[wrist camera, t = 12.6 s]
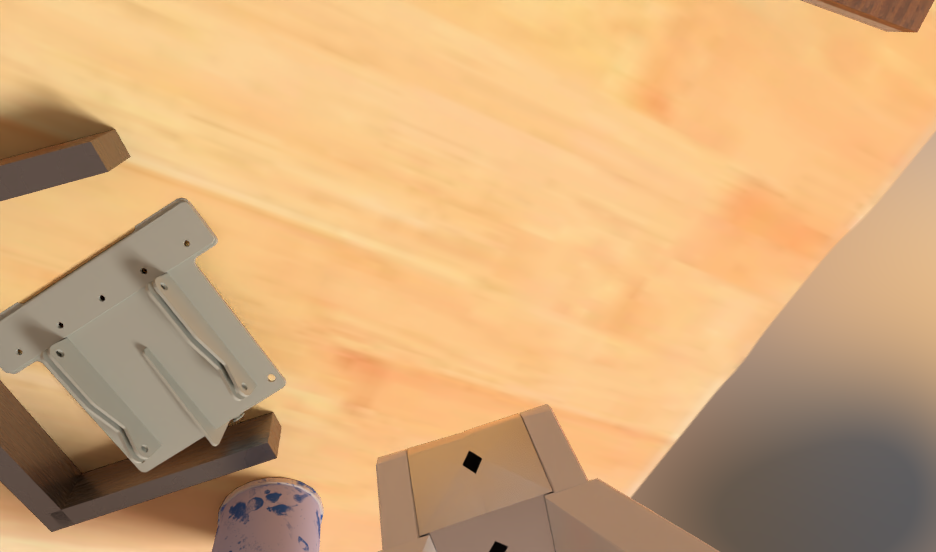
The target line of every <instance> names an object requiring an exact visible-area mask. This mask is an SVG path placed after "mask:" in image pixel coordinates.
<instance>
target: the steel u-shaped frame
mask: <svg viewBox="0 0 936 552" xmlns="http://www.w3.org/2000/svg"><path fill="white" fill-rule="evenodd" d="M129 157H130V155H129V153H128V152H127V150H126V148H125V146H124V144H123V143H122V141H121V139H120V137H119V135H118V134H117V132H116V130H115V129H114V130H110V131H106V132H103V133H99V134H95V135H91V136H88V137H84V138H80V139H76V140H73V141H69V142H65V143H61V144H58V145H54V146H50V147H47V148H43V149H39V150H35V151H32V152H28V153H24V154H20V155H17V156H13V157H9V158H5V159H2V160H0V201H3V200H7V199H10V198H14V197H18V196H21V195H25V194H29V193H32V192H36V191H40V190H43V189H47V188H50V187H54V186H58V185H61V184H65V183H69V182H72V181H76V180H80V179H83V178H87V177H91V176H94V175H98V174H102V173H105V172H108V171H110V170H111V169H113V168H114V167H116V166H117V165H119V164H120V163H122V162H123V161H125V160H126V159H128V158H129ZM280 433H281V425H280V424H279V422H278V420H277V418H276V417H275V415H274V413H273V412H272V413H269V414H266V415H263V416H260V417H257V418H254V419H250V420H247V421H244V422H241V423H238V424H235V425H232V426H229V427H227V428H226V430H225V432H224V434H223V437H222V439H221V441H220V443H219V444H218V445H217V446H213V445H212V444H211V443H210V442H209V440H208V439H207V438H206V437H205V436H204V437H203V438H201V439H199V440H198V441H196V442H195V443H193V444H191V445H190V446H188V447H186V448H185V449H183V450H182V451H180V452H178V453H177V454H175V455H174V456H172V457H170V458H169V459H167V460H166V461H164V462H162V463H161V464H159V465H157V466H156V467H154V468H153V469H151V470H149V471H148V472H141V471H140V470H139V469H138V468H137V467H136V466H135V465H134V464H133V463H132V462H131V460H130V459H126V460H123V461H120V462H117V463H113V464H110V465H107V466H104V467H101V468H98V469H95V470H92V471H89V472H85V473H81V472H80V471H79V470H78V469H77V468H76V466H75V465H74V464H73V463H72V462H71V461H70V460H69V458H68V457H67V456H66V455H65V454H64V453H63V452H62V450H61V449H60V448H59V447H58V446H57V445H56V444H55V442H54V441H53V440H52V439H51V438H50V437H49V436H48V435H47V433H46V432H45V431H44V430H43V429H42V428H41V427H40V425H39V424H38V423H37V422H36V421H35V420H34V419H33V417H32V416H31V415H30V414H29V413H28V412H27V411H26V409H25V408H24V407H23V406H22V405H21V404H20V403H19V401H18V400H17V399H16V398H15V397H14V396H13V395H12V393H11V392H10V391H9V390H8V389H7V388H6V387H5V386H4V384H3V383H2V382H1V381H0V481H1V482H2V483H3V484H4V485H5V486H6V487H7V488H8V489H9V490H10V491H11V492H12V493H13V494H14V495H15V496H16V497H17V498H18V499H19V500H20V501H21V502H22V503H23V504H24V505H25V506H26V507H27V508H28V509H29V510H30V511H31V512H32V513H33V514H34V515H35V516H36V517H37V518H38V519H39V520H40V521H41V522H42V523H43V524H44V525H45V526H46V527H47V528H48V529H49V530H50V531H51V532H53V531H56V530H59V529H62V528H65V527H68V526H72V525H75V524H78V523H81V522H84V521H87V520H90V519H93V518H96V517H99V516H102V515H105V514H108V513H111V512H114V511H117V510H120V509H123V508H126V507H129V506H132V505H135V504H138V503H141V502H145V501H148V500H151V499H154V498H157V497H160V496H163V495H166V494H169V493H172V492H175V491H178V490H181V489H184V488H187V487H190V486H193V485H196V484H199V483H202V482H205V481H208V480H211V479H214V478H217V477H221V476H224V475H227V474H230V473H233V472H236V471H239V470H242V469H245V468H248V467H251V466H254V465H257V464H260V463H263V462H266V461H269V460H272V459H275V458H277V453H278V447H279V440H280ZM144 461H145V460H144Z"/></svg>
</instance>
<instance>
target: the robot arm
mask: <svg viewBox="0 0 936 552" xmlns="http://www.w3.org/2000/svg"><path fill="white" fill-rule="evenodd" d="M376 471H377V484H378V497H379V510H380V523H381V536H382V549H383V550H381V551H378V552H720V551H718V550H716V549H714V548H713V547H711V546H710V545H708V544H706V543H704V542H703V541H701V540H700V539H698V538H696V537H694V536H693V535H691V534H690V533H688V532H686V531H685V530H683V529H681V528H680V527H678V526H676V525H674V524H673V523H671V522H670V521H668V520H666V519H665V518H663V517H661V516H660V515H658V514H656V513H655V512H653V511H651V510H650V509H648V508H646V507H644V506H643V505H641V504H640V503H638V502H636V501H635V500H633V499H631V498H630V497H628V496H626V495H625V494H623V493H621V492H620V491H618V490H616V489H615V488H613V487H611V486H610V485H608V484H606V483H605V482H603V481H601V480H600V479H598V478H597V479H593V480H590V481H588V479H587V477H586V475H585V473H584V471H583V469H582V467H581V465H580V463H579V461H578V459H577V457H576V455H575V453H574V451H573V449H572V448H571V446H570V444H569V442H568V440H567V438H566V436H565V434H564V432H563V430H562V428H561V426H560V424H559V422H558V420H557V418H556V416H555V414H554V412H553V410H552V408H551V407H550V406H548V405H547V404H545V405H542V406H539V407H536V408H533V409H530V410H527V411H524V412H521V413H520V414H518V413H517V414H514V415H511V416H508V417H505V418H502V419H499V420H496V421H493V422H490V423H487V424H484V425H481V426H478V427H475V428H472V429H469V430H466V431H464V432H462V433H459V434H455V435H452V436H448V437H445V438H442V439H438V440H435V441H431V442H428V443H424V444H421V445H418V446H414V447H411V448H407V449H406V450H402V451H399V452H395V453H392V454H389V455H385V456H382V457H379V458H378V460H377V465H376Z"/></svg>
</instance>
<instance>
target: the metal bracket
mask: <svg viewBox="0 0 936 552" xmlns="http://www.w3.org/2000/svg"><path fill="white" fill-rule="evenodd" d="M185 240H187V241H189V243H190V245H189V246H186V245H185V244H184V242H185ZM217 242H218V239H217V237H216V236H215V234H214V233H213V232H212V230H211V229H210V228H209V226H208V225H207V224H206V222H205V221H204V220H203V218H202V217H201V216H200V214H199V213H198V212H197V210H196V209H195V208H194V206H193V205H192V204H191V203H190V202H189V201H188V200H187V199H184V198H179V199H176V200H175V201H173V202H172V203H170V204H169V205H167V206H165V207H164V208H162V209H161V210H159V211H158V212H156V213H155V214H153V215H152V216H150V217H148V218H147V219H145V220H144V221H142V222H141V223H139V224H138V225H136V226H135V230H134V232H133V233H131V234H130V235H128V236H127V237H125V238H124V239H122V240H120V241H119V242H117V243H116V244H114V245H113V246H111V247H110V248H108V249H107V250H105V251H104V252H102V253H101V254H99V255H98V256H96V257H95V258H93V259H91V260H90V261H88V262H87V263H85V264H84V265H82V266H81V267H79V268H78V269H76V270H75V271H73V272H72V273H70V274H69V275H67V276H66V277H64V278H62V279H61V280H59V281H58V282H56V283H55V284H53V285H52V286H50V287H49V288H47V289H46V290H44V291H43V292H41V293H40V294H38V295H37V296H35V297H33V298H32V299H30V300H29V301H27V302H26V303H23V304H22V303H18V302H17V303H15V304H14V305H12V306H11V307H9V308H8V309H6V310H5V311H3V312H2V313H0V367H1V368H2V370H3V371H5V372H6V373H12V374H15V373H18V372H20V371H21V370H23V369H24V368H26V367H27V366H29V365H30V364H32V363H34V362H35V361H39V362H41V363H43V364H44V365H45V366H46V367H47V369H48V370H49V371H50V372H51V373H52V374H53V375H54V376H55V377H56V379H57V380H58V381H59V382H60V383H61V384H62V385H63V386H64V387H65V388H66V390H67V391H68V392H69V393H70V394H71V395H72V396H73V397H74V398H75V400H76V401H77V402H78V403H79V404H80V405H81V406H82V407H83V408H84V410H85V411H86V412H87V413H88V414H89V415H90V416H91V417H92V418H93V419H94V421H95V422H96V423H97V424H98V425H99V426H100V427H101V428H102V429H103V431H104V432H105V433H106V434H107V435H108V436H109V437H110V438H111V439H112V441H113V442H114V443H115V444H116V445H117V446H118V447H119V448H120V449H121V450H122V452H123V453H124V454H125V455H126V456H127V457H128V458H129V459H130V460H131V462H132V463H133V464H134V465H135V466H136V467H137V468H138V469H139V470H140V471H141V472H148V471H149V470H151V469H153V468H154V467H156V466H157V465H159V464H161V463H162V462H164V461H166V460H167V459H169V458H170V457H172V456H174V455H175V454H177V453H178V452H180V451H182V450H183V449H185V448H186V447H188V446H190V445H191V444H193V443H195V442H196V441H198V440H199V439H201V438H203V437H204V436H205V437H206V438H207V439H208V440H209V442H210V443H211V444H212V445H213V446H217V445H218V444H219V443H220V441H221V439H222V437H223V434H224V432H225V430H226V428H227V426H228V423H229V421H230V420H232V419H234V420H233V421H234V422H236V421H238V420H239V419H240V418H242V417H243V416H244V414H245V413H243V412H244V411H246V410H248V409H249V408H251V407H253V406H254V405H256V404H257V403H259V402H261V401H262V400H264V399H265V398H267V397H269V396H270V395H272V394H273V393H275V392H277V391H278V390H280V389H282V388H283V387H284V386H285V384H286V380H285V378H284V377H283V376H282V375H281V373H280V372H279V371H278V369H277V368H276V367H275V366H274V364H273V363H272V362H271V360H270V359H269V358H268V357H267V355H266V354H265V353H264V351H263V350H262V349H261V348H260V346H259V345H258V344H257V342H256V341H255V340H254V338H253V337H252V336H251V335H250V333H249V332H248V331H247V329H246V328H245V327H244V326H243V324H242V323H241V322H240V320H239V319H238V318H237V317H236V315H235V314H234V313H233V311H232V310H231V309H230V308H229V306H228V305H227V304H226V302H225V301H224V300H223V299H222V297H221V296H220V295H219V293H218V292H217V291H216V290H215V288H214V287H213V286H212V284H211V283H210V282H209V281H208V279H207V278H206V277H205V275H204V274H203V273H202V272H201V270H200V269H199V268H198V266H197V265H196V263H195V259H196V258H197V257H198V256H199V255H201V254H202V253H204V252H205V251H207V250H208V249H210V248H212V247H213V246H215V245H216V244H217ZM143 268H145V269H147V273H146V274H144V273H143V272H142V269H143ZM101 295H102V296H104V297H105V301H102V300H101V299H100V296H101ZM59 322H61V323H62V324H63V325H64V326H63V328H62V327H60V326H59ZM18 349H20V350H22V354H20V353H19V352H18ZM269 374H273V375H274V376H275V377H276V379H275V380H274V381H270V380H269V379H268V375H269ZM144 460H145V461H144Z"/></svg>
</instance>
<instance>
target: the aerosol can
mask: <svg viewBox="0 0 936 552" xmlns="http://www.w3.org/2000/svg"><path fill="white" fill-rule="evenodd" d="M322 517H323V504H322V501H321V497H320V496H319V495H318V494H317V493H316V492H315V490H314V489H313V488H311V487H309V486H308V485H306V484H304V483H302V482H300V481H296V480H292V479H288V478H265V479H260V480H255V481H251V482H249V483H247V484H245V485H242V486H240V487H238V488H236V489H235V490H234V491H233V492H232V493H231V494H229V495H228V496H227V497H226V498H225V500H224V502H223V503H222V505H221V507H220V509H219V513H218V528H217V532H216V537H215V541H214V545H213V549H212V552H319V545H320V524H321V522H322Z"/></svg>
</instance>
